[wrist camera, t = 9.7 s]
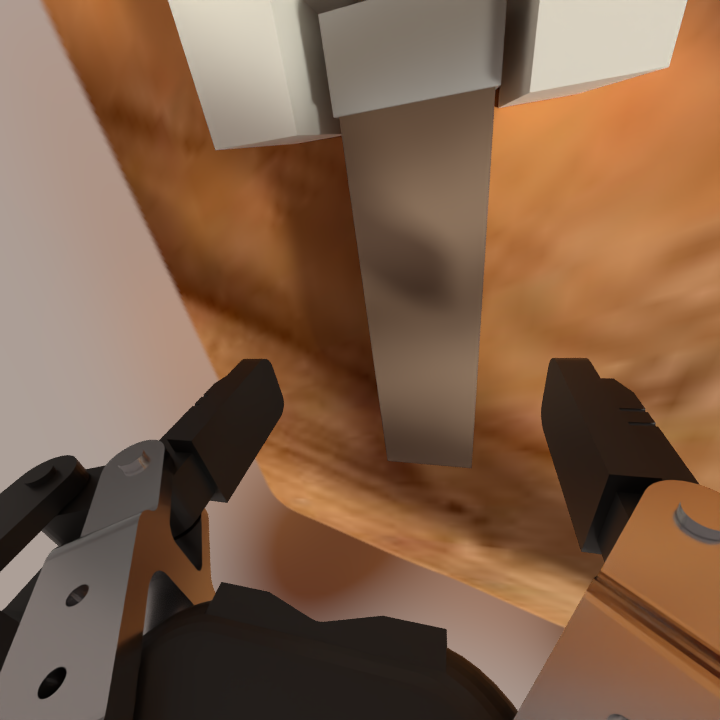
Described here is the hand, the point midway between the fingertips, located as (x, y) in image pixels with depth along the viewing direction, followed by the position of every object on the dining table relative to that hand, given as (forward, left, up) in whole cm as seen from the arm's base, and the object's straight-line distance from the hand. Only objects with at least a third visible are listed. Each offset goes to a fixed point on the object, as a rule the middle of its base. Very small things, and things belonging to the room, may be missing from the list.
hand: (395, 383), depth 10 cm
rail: (+1, -1, -8) cm, 8 cm away
